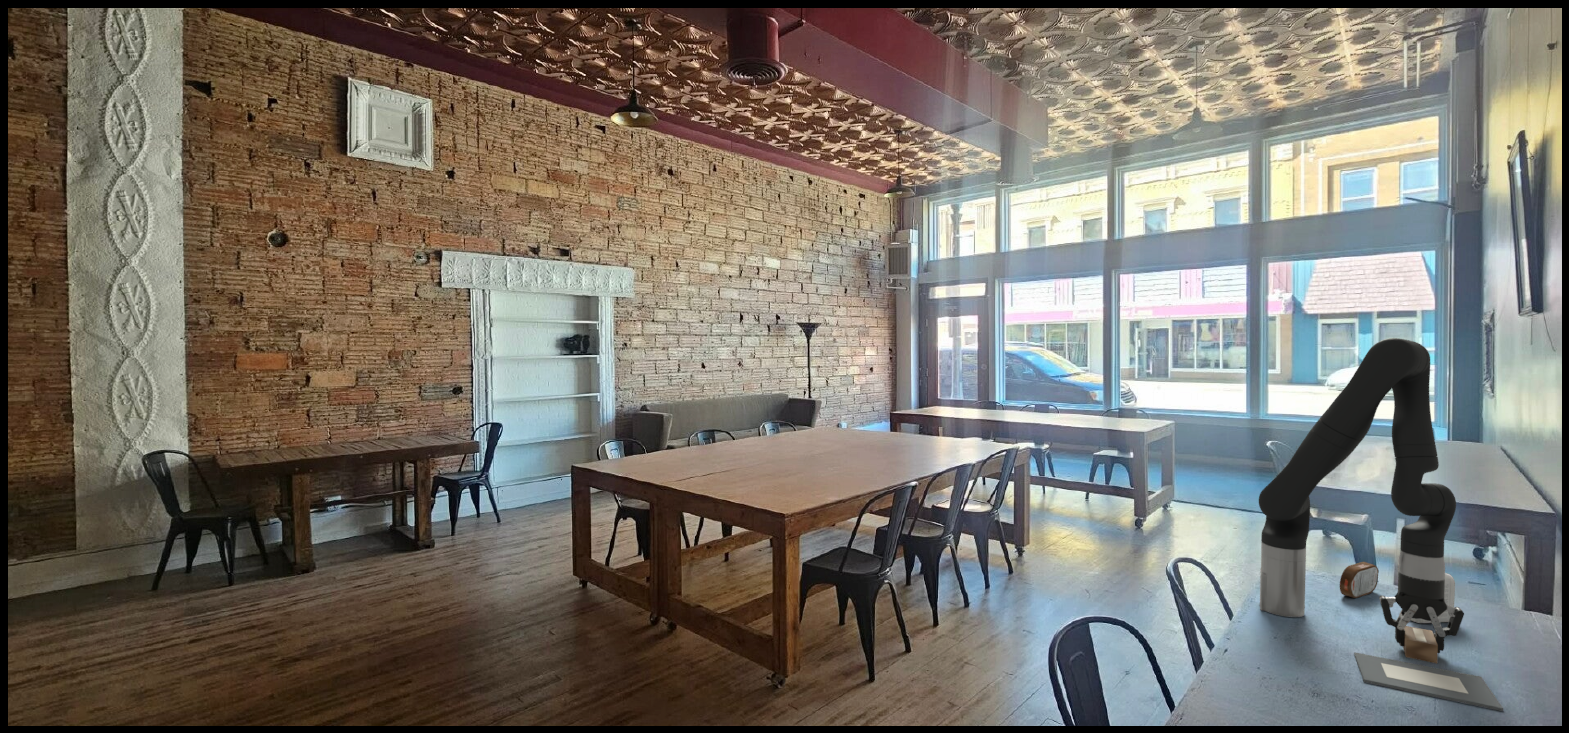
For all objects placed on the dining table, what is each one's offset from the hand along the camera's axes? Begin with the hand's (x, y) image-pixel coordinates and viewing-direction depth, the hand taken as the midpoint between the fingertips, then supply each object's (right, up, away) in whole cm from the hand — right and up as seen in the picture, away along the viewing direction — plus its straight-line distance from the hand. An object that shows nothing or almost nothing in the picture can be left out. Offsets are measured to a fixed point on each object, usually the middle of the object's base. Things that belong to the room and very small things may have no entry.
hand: (1419, 648), depth 150 cm
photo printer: (+18, 0, +17) cm, 25 cm away
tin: (+15, 0, +33) cm, 36 cm away
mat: (-11, -2, -12) cm, 16 cm away
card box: (0, -1, 0) cm, 1 cm away
